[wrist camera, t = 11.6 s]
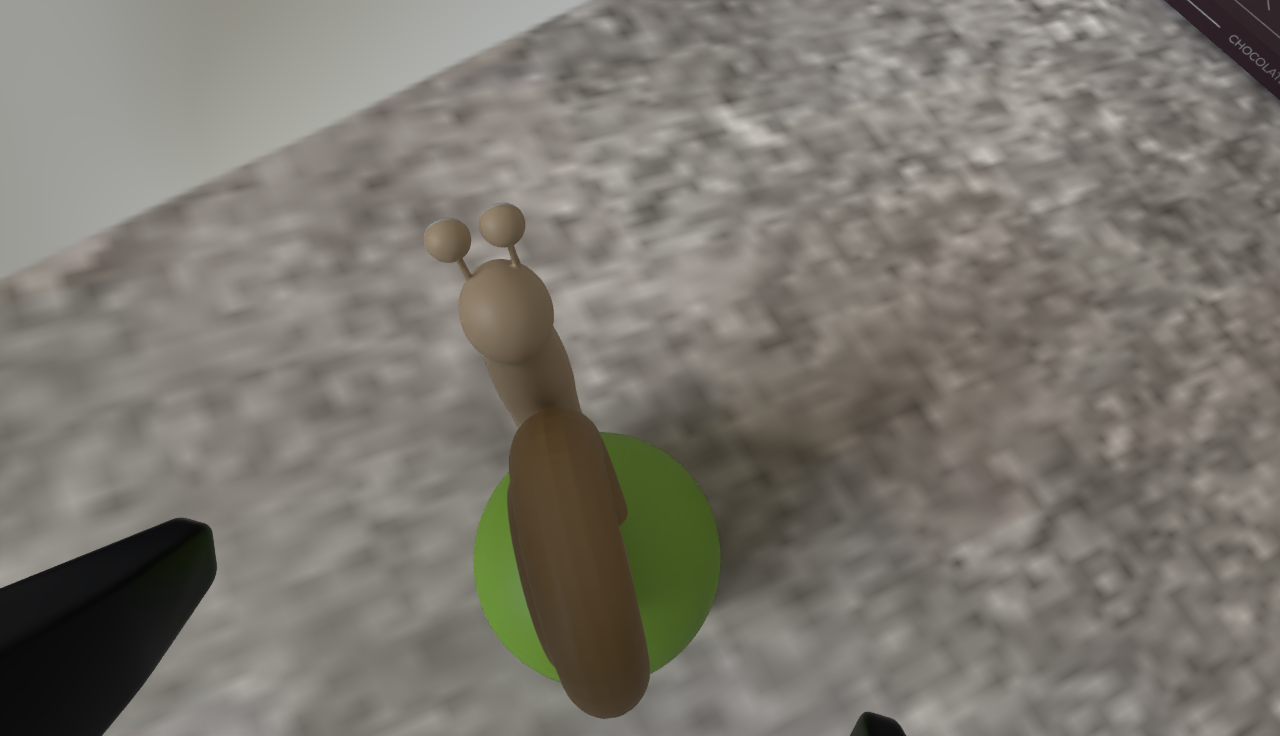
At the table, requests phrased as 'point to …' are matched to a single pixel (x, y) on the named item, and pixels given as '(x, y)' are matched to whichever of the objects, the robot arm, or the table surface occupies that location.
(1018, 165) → the table surface
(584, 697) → the snail figurine
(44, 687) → the robot arm
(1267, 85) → the chocolate bar
